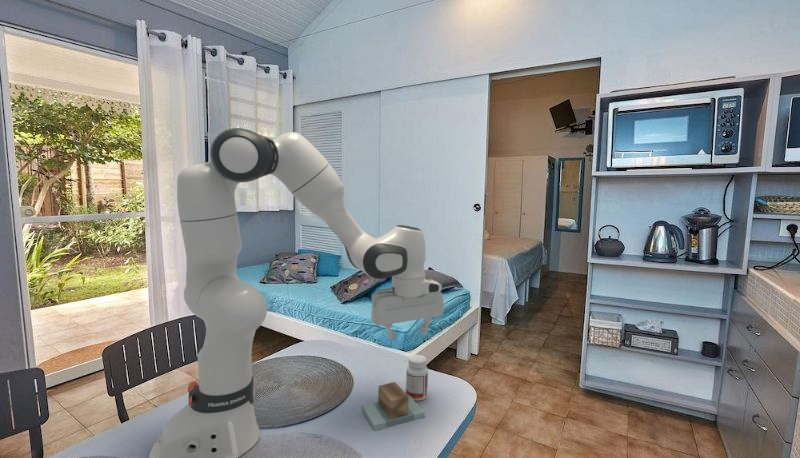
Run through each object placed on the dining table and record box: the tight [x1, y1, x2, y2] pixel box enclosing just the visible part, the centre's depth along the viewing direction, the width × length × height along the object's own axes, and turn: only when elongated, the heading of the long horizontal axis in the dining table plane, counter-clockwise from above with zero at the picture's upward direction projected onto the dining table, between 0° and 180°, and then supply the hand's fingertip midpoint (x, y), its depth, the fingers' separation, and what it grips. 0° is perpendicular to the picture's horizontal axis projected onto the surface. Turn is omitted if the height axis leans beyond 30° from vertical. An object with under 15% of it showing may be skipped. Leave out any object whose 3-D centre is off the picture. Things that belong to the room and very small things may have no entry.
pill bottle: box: [405, 354, 429, 402], centre depth 107 cm, size 6×6×11 cm
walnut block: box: [377, 381, 409, 419], centre depth 98 cm, size 5×8×5 cm, turn 27°
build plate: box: [362, 395, 425, 431], centre depth 99 cm, size 14×9×1 cm, turn 115°
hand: (408, 335), depth 100 cm, fingers open, 8 cm apart
